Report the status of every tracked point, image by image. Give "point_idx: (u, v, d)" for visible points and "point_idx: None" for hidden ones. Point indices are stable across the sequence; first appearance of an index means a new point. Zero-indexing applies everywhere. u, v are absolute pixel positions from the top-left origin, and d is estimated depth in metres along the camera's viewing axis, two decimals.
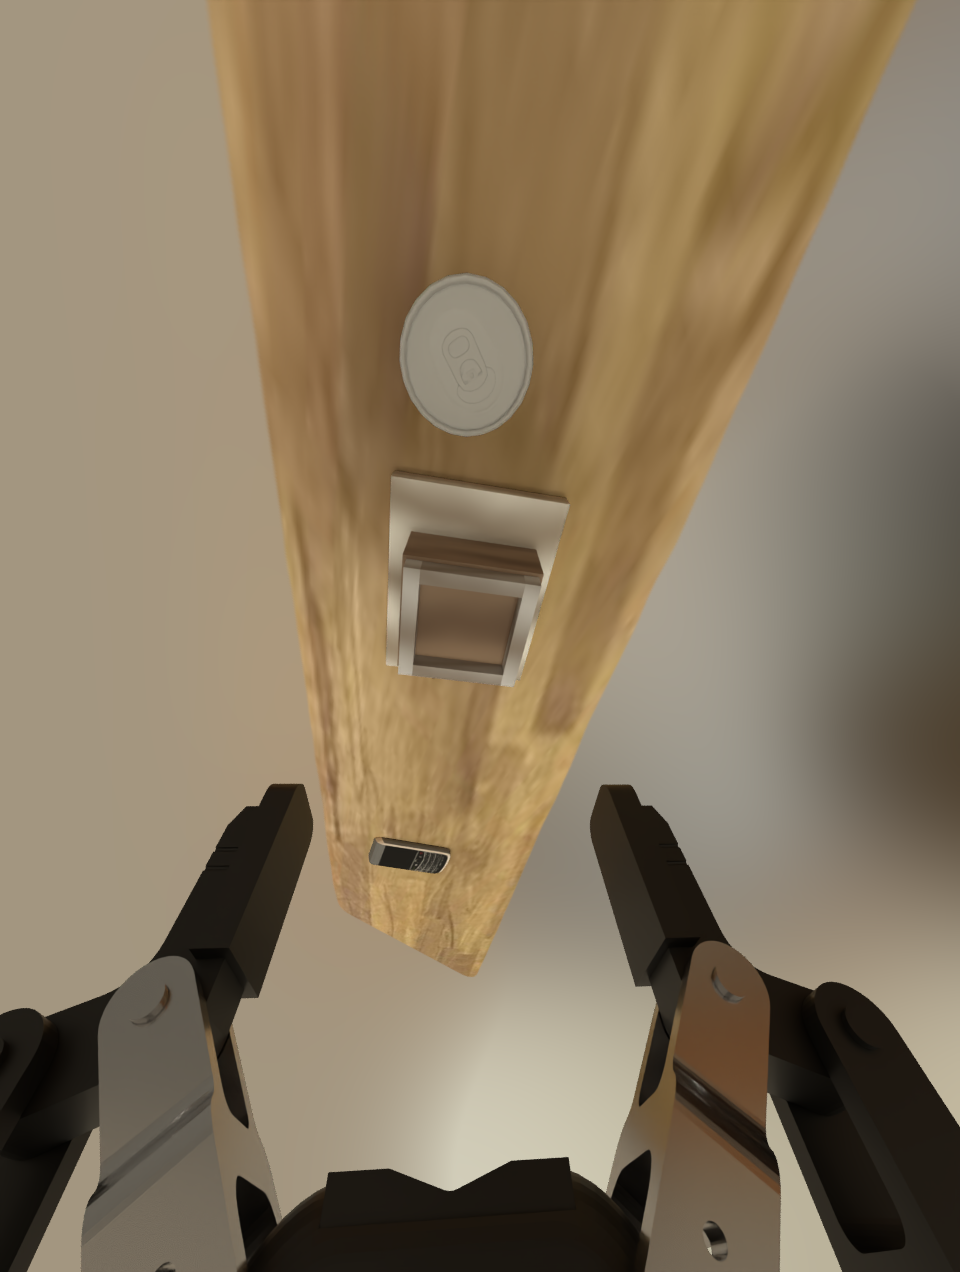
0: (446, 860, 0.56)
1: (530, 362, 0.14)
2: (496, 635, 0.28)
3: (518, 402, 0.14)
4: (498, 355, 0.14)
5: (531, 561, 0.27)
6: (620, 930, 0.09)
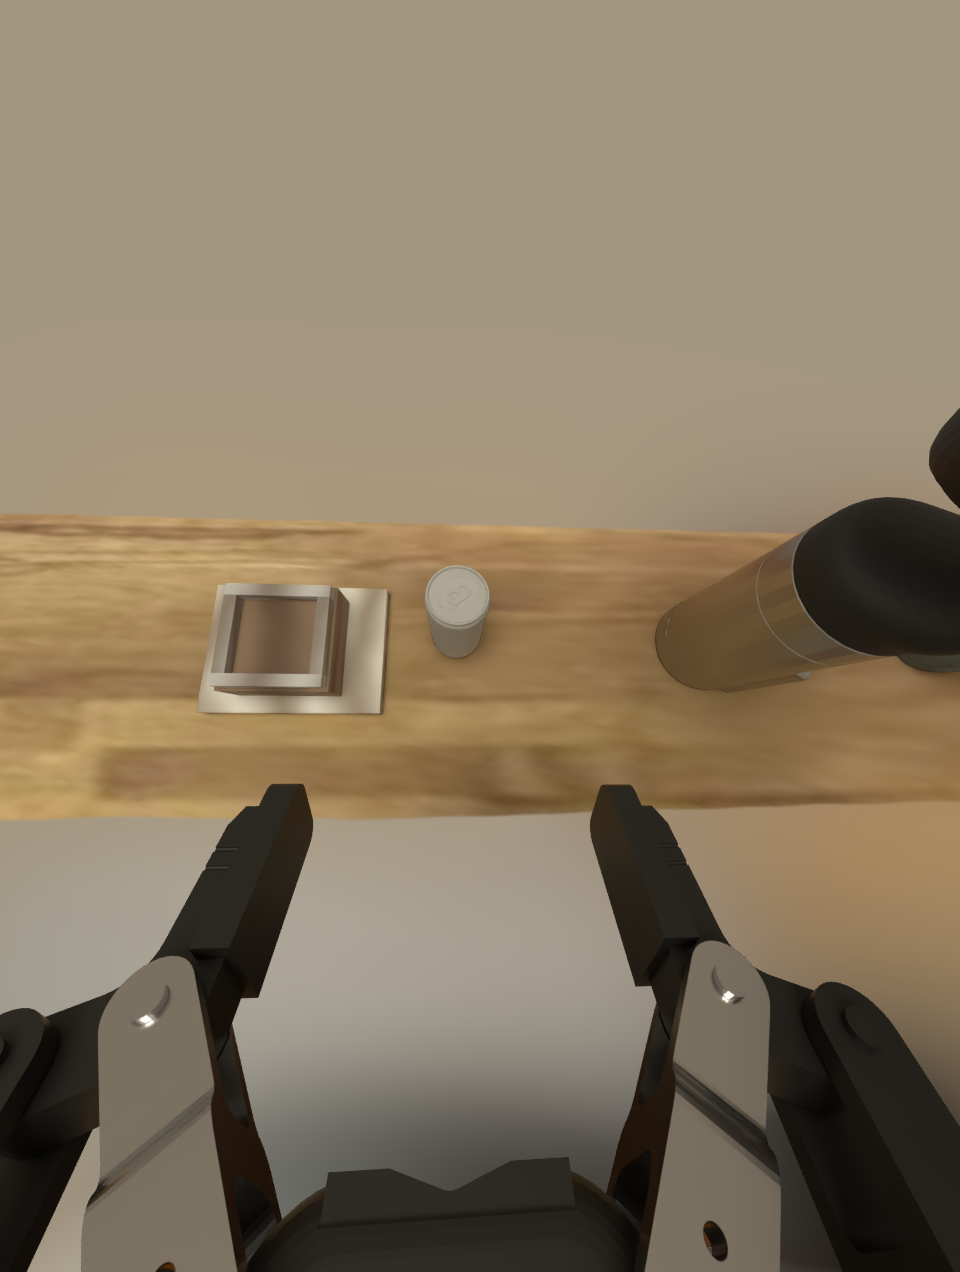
0: None
1: (462, 624, 0.28)
2: (266, 664, 0.33)
3: (444, 621, 0.28)
4: (462, 609, 0.28)
5: (335, 686, 0.34)
6: (620, 930, 0.09)
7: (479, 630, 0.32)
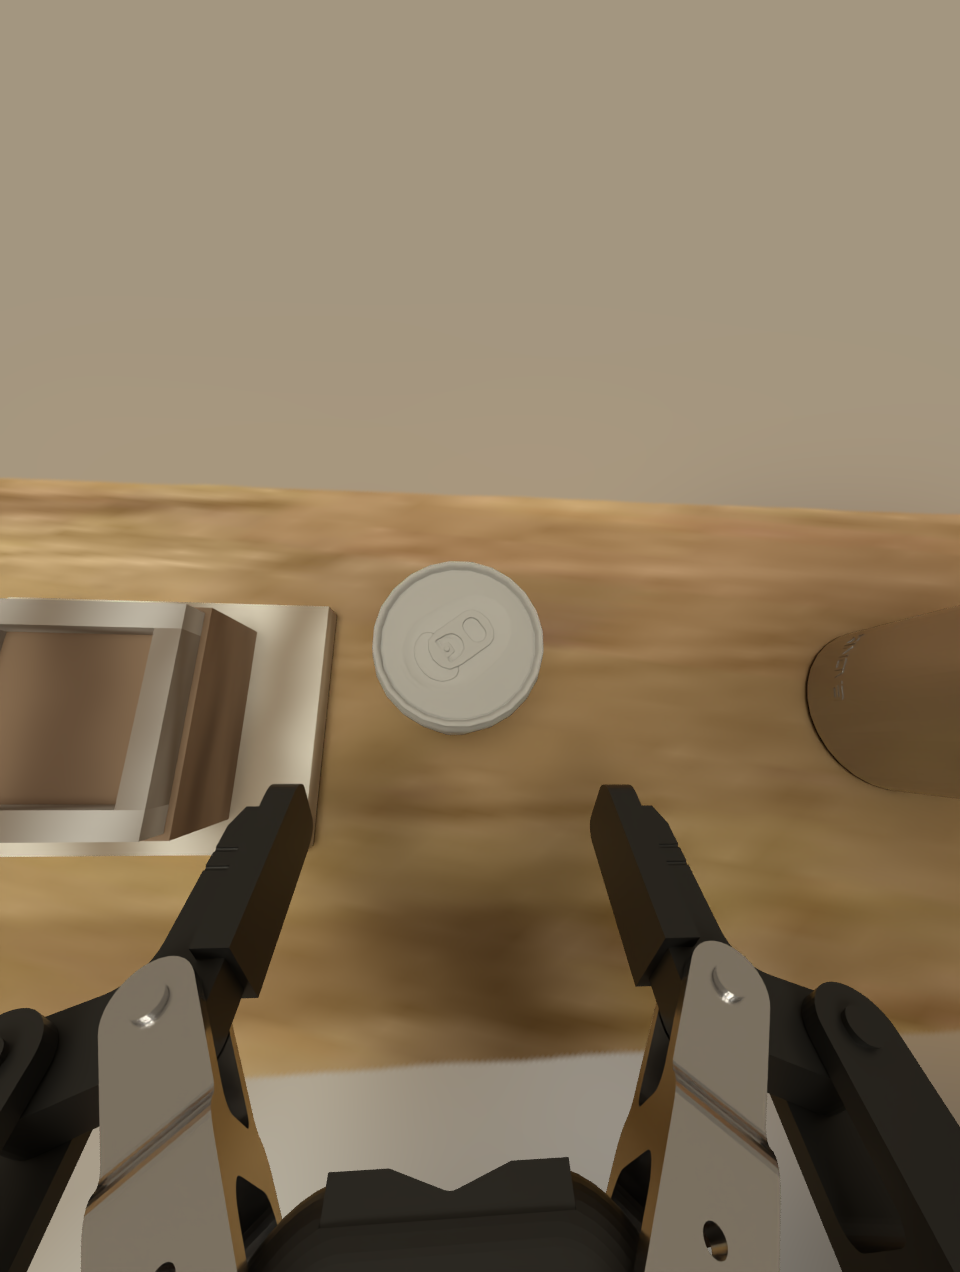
0: None
1: (471, 724, 0.10)
2: (36, 778, 0.15)
3: (422, 716, 0.10)
4: (473, 679, 0.10)
5: (201, 814, 0.16)
6: (620, 930, 0.09)
7: None
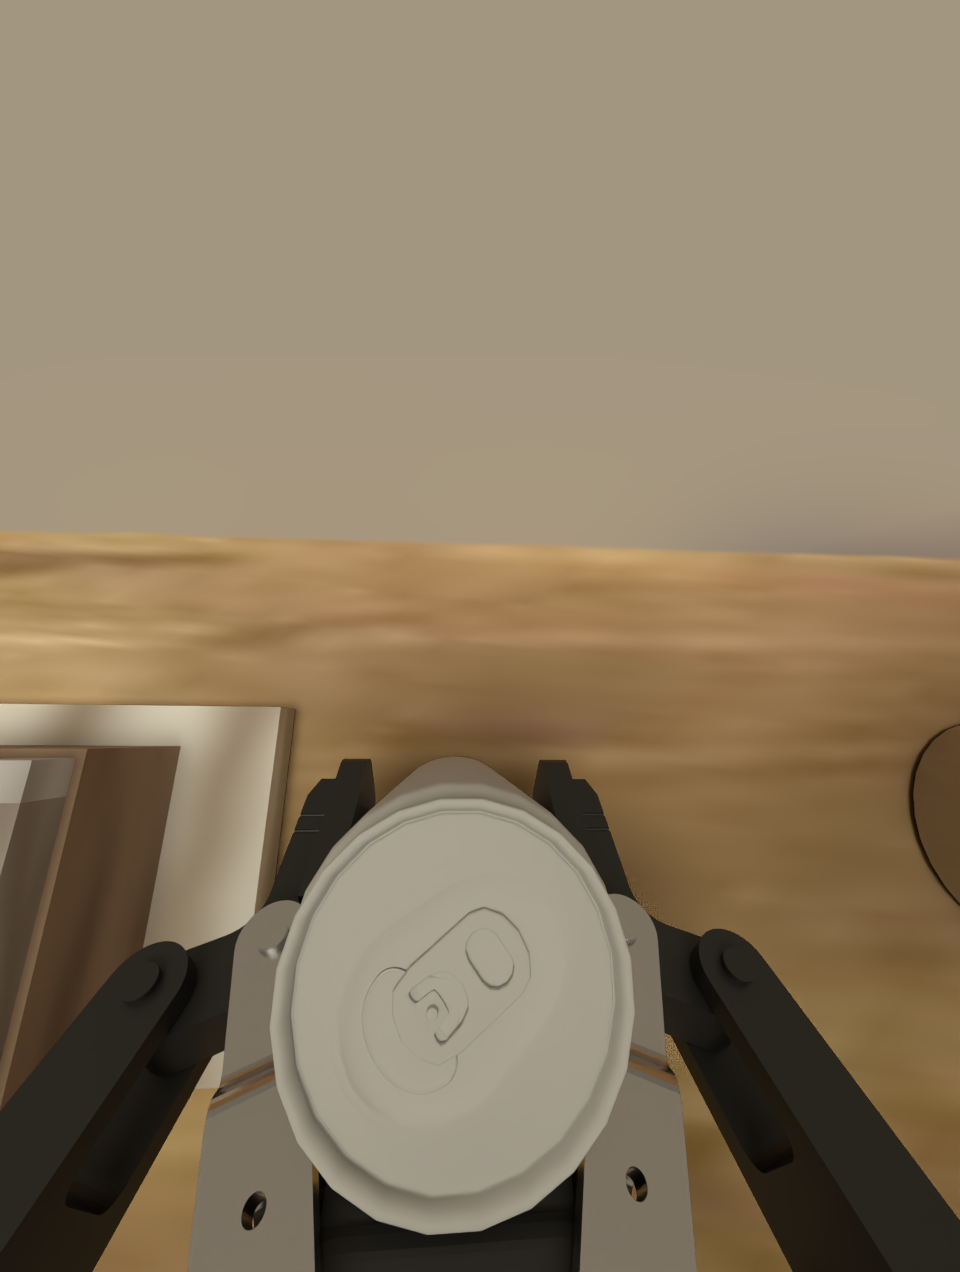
0: None
1: (486, 1225, 0.04)
2: None
3: (375, 1216, 0.04)
4: (489, 1090, 0.05)
5: None
6: None
7: None
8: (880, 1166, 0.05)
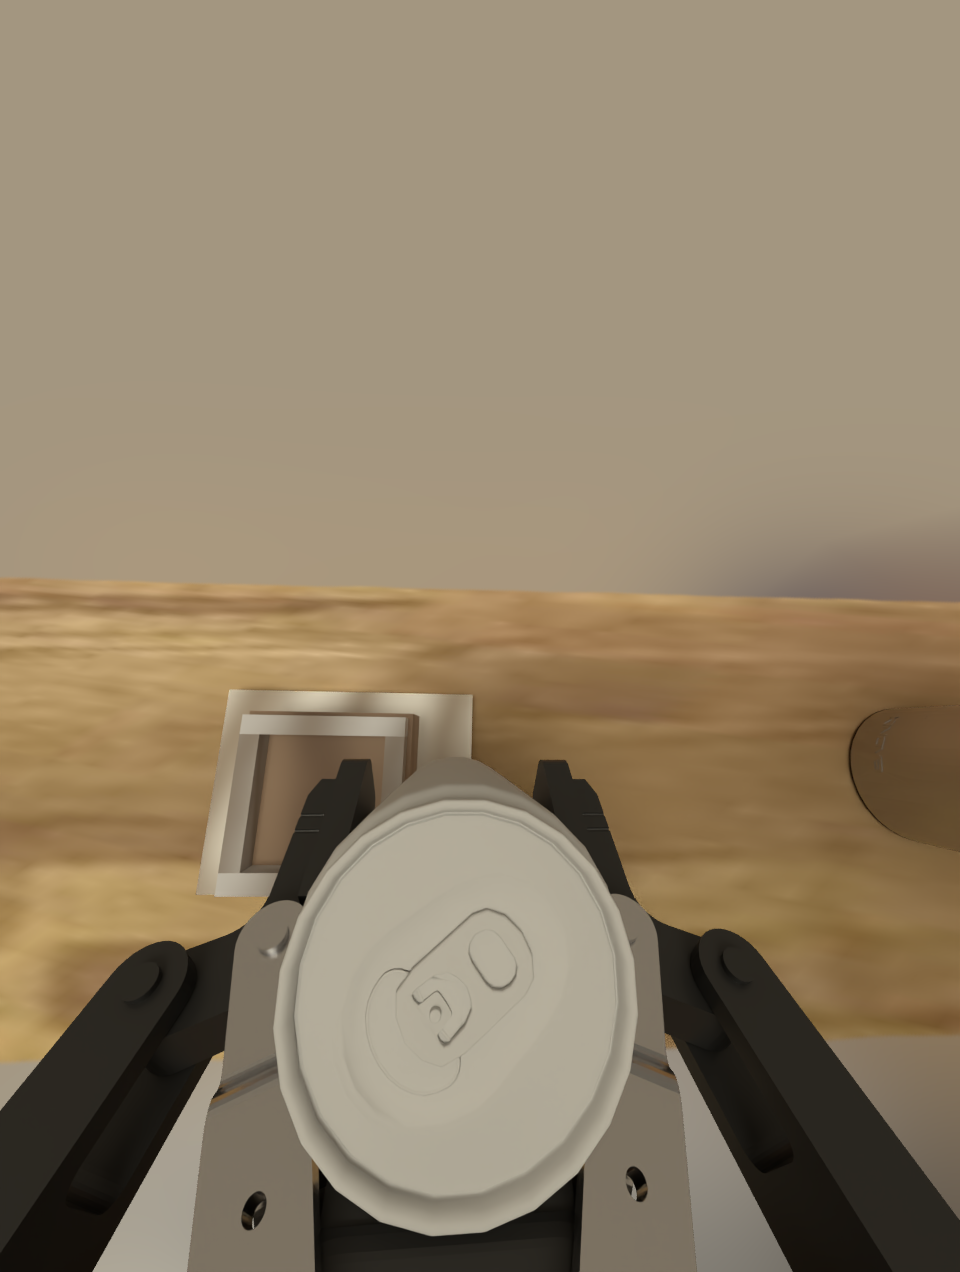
0: None
1: (490, 1226, 0.04)
2: None
3: (379, 1217, 0.04)
4: (492, 1091, 0.05)
5: None
6: None
7: None
8: (880, 1166, 0.05)
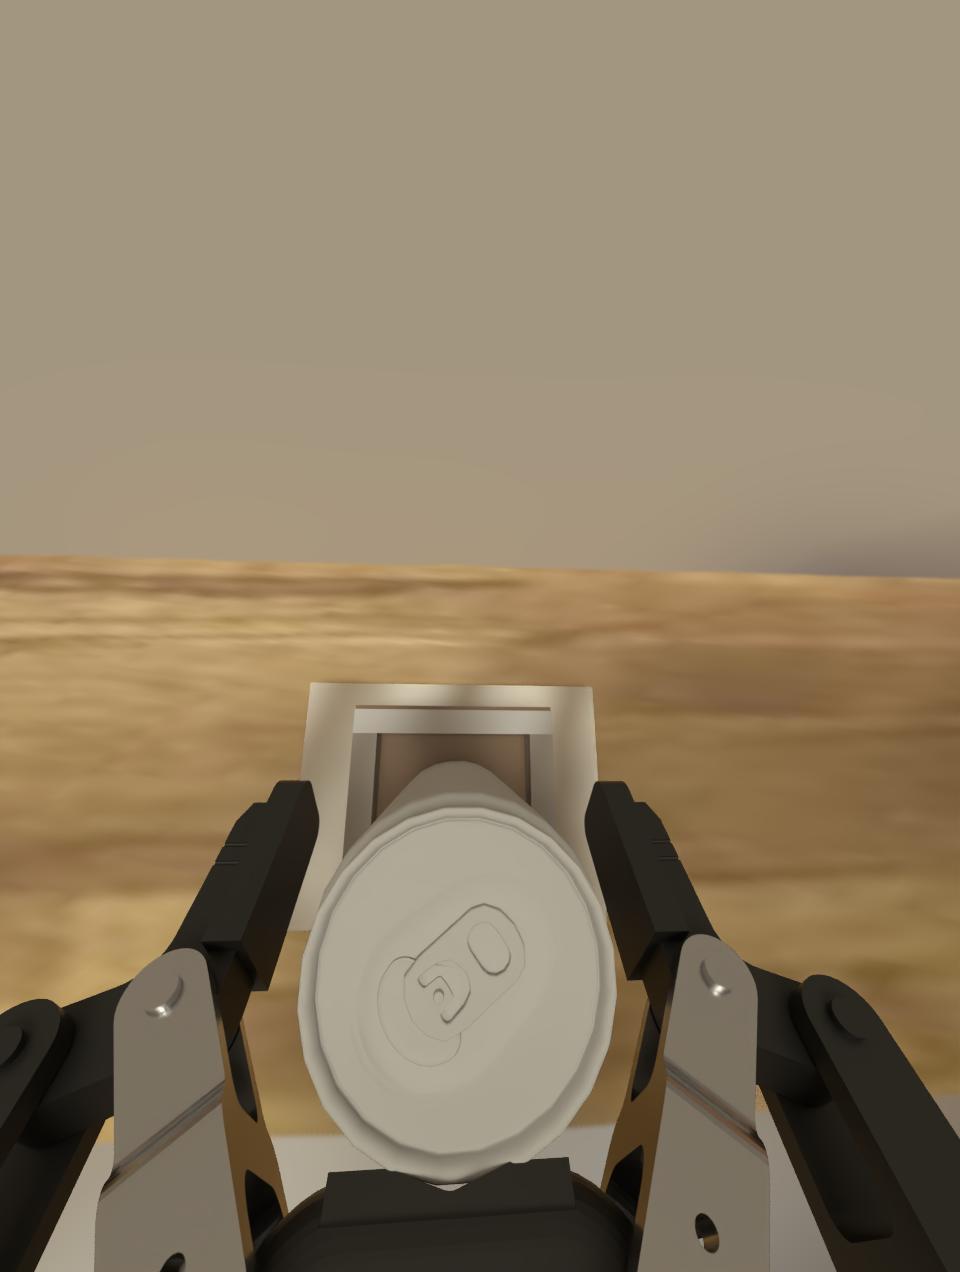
0: None
1: None
2: None
3: (391, 1169, 0.05)
4: (488, 1062, 0.06)
5: None
6: (613, 925, 0.09)
7: None
8: None
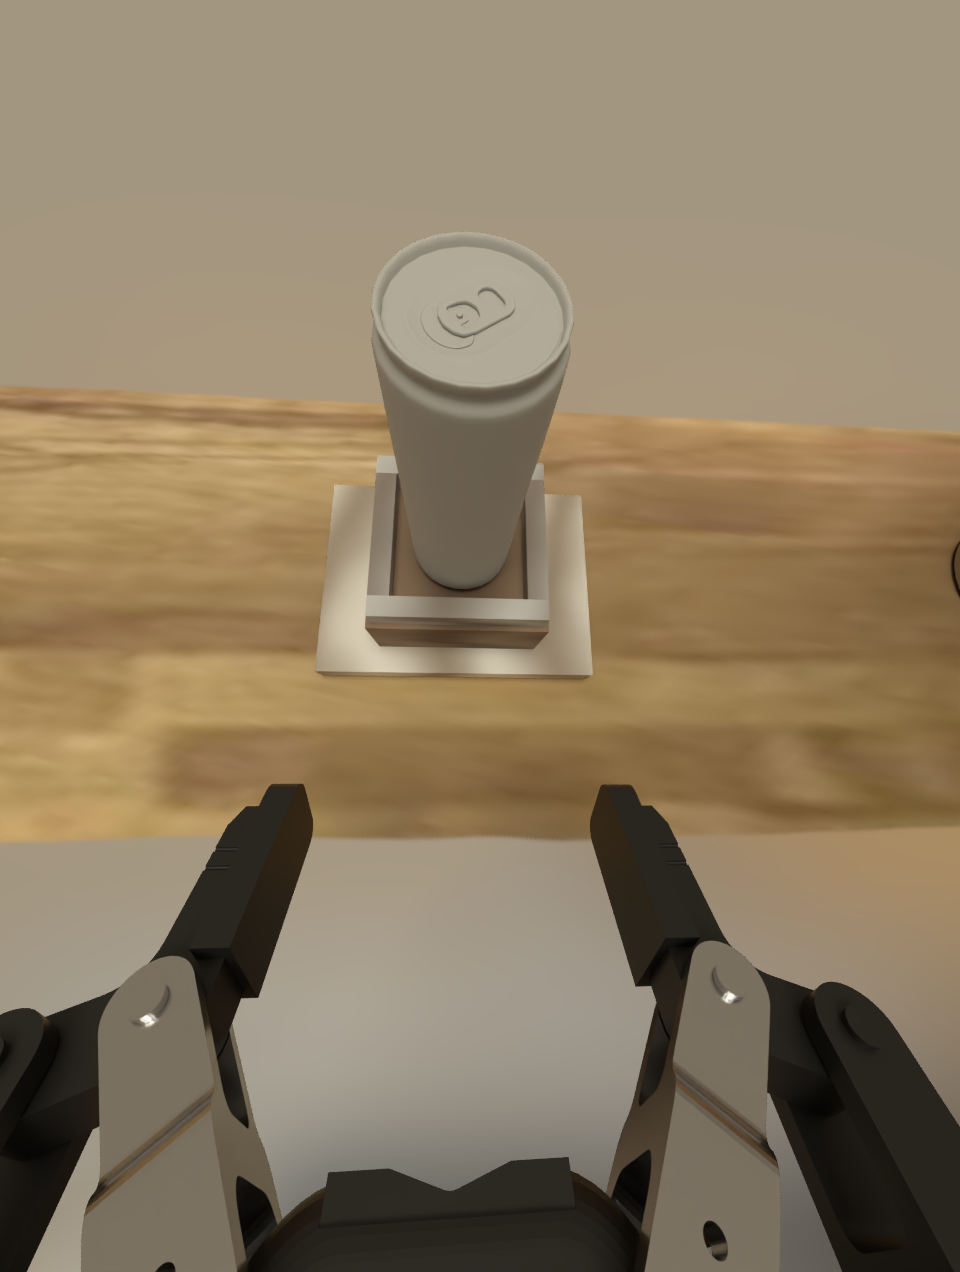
0: None
1: (491, 384, 0.08)
2: (446, 588, 0.20)
3: (432, 374, 0.08)
4: (491, 346, 0.09)
5: None
6: (620, 930, 0.09)
7: (524, 481, 0.13)
8: None
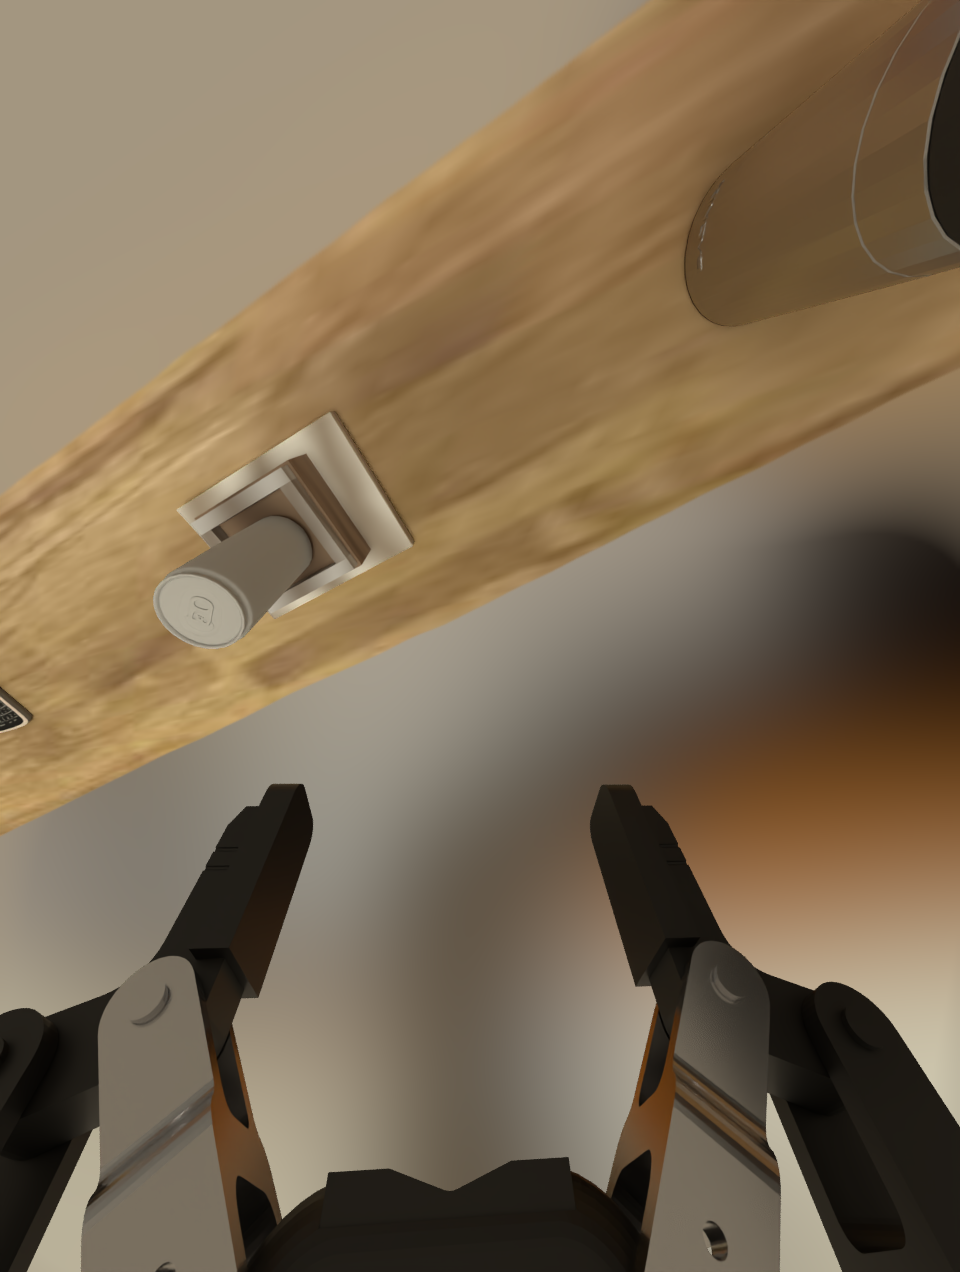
0: (15, 725, 0.46)
1: (234, 641, 0.22)
2: None
3: (216, 648, 0.22)
4: (220, 624, 0.22)
5: (361, 551, 0.34)
6: (620, 930, 0.09)
7: (276, 590, 0.25)
8: None
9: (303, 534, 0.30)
